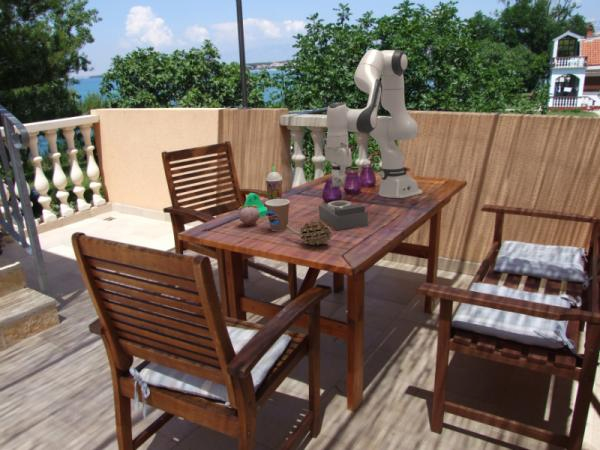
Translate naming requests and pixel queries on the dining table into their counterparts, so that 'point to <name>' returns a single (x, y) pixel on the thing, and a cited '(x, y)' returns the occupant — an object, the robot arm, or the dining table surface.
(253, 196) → the camera mount
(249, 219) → the decorative fruit
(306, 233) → the pine cone
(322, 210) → the camera body
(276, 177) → the smoothie
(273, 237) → the dining table surface
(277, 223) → the coffee cup
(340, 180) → the lens
